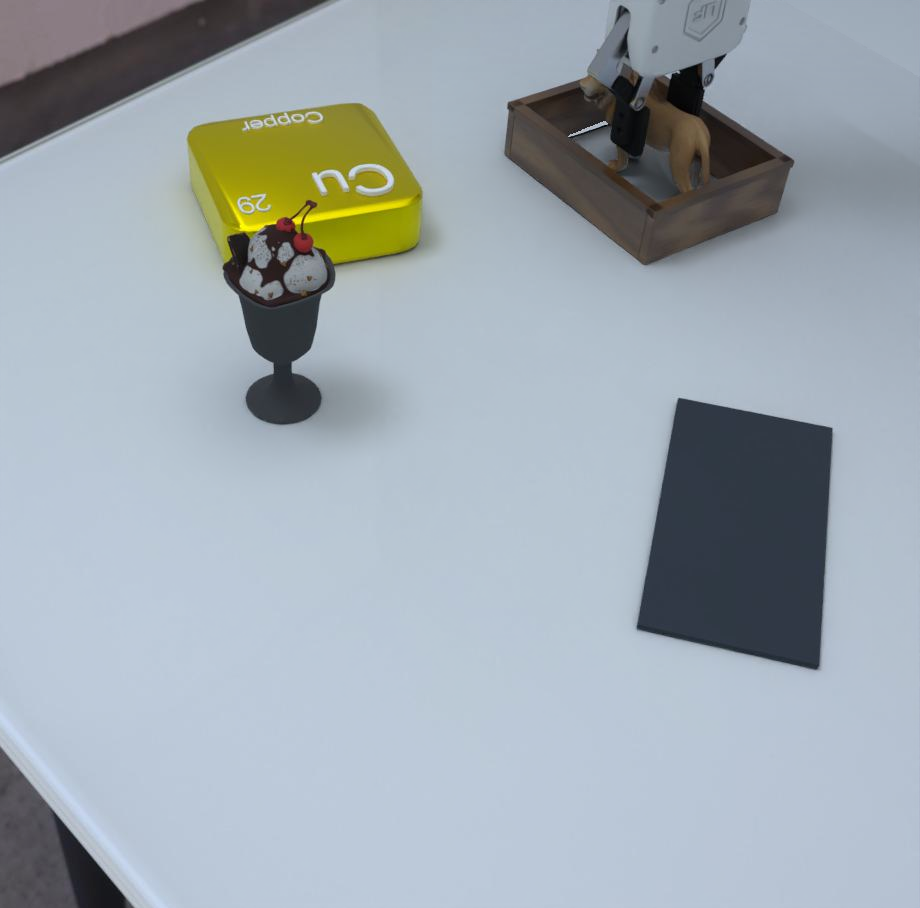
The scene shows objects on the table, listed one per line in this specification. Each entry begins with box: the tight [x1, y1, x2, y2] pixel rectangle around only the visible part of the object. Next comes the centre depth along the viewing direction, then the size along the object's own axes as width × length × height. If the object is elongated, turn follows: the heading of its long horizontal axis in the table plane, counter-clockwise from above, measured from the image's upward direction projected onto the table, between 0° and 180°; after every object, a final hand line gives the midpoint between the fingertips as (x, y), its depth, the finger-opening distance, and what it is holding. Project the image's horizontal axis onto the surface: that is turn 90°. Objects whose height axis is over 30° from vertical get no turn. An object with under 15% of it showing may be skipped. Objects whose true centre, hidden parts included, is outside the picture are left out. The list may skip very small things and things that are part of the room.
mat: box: [636, 397, 834, 670], centre depth 79 cm, size 20×10×1 cm, turn 165°
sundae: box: [221, 200, 336, 425], centre depth 80 cm, size 7×7×15 cm
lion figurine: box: [580, 48, 711, 194], centre depth 101 cm, size 15×5×9 cm, turn 43°
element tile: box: [186, 102, 423, 265], centre depth 99 cm, size 15×15×5 cm
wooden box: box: [503, 75, 795, 266], centre depth 103 cm, size 14×18×5 cm
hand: (652, 136), depth 101 cm, fingers closed on lion figurine, 4 cm apart
